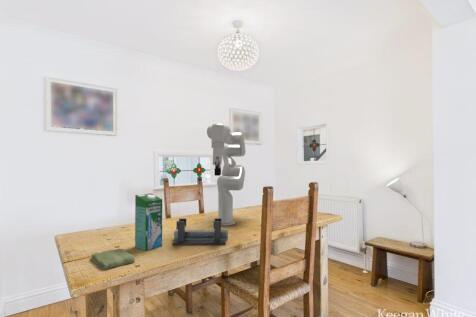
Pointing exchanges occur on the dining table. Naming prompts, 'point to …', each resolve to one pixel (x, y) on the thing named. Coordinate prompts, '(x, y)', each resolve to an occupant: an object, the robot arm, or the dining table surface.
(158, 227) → the milk carton
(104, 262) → the washcloth
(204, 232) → the rail
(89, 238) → the dining table surface
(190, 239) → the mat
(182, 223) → the rack
